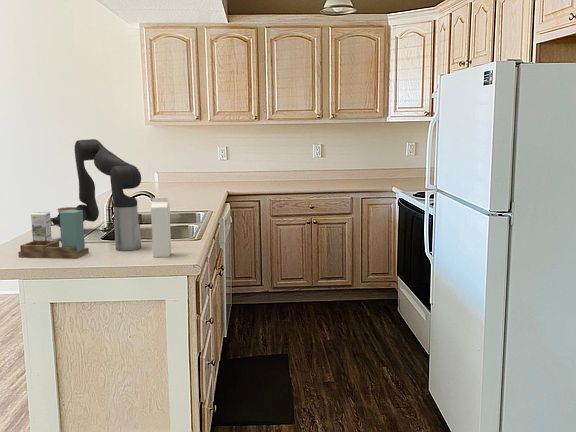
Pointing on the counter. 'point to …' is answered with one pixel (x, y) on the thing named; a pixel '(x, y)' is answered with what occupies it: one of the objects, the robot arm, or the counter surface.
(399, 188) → the counter surface
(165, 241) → the milk
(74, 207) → the flower pot
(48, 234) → the syrup box
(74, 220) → the teal tall block
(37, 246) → the wooden compartment tray
